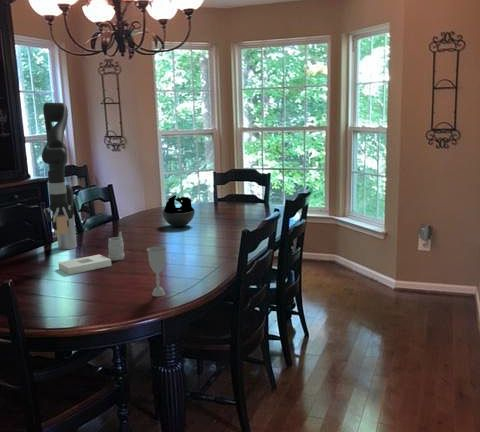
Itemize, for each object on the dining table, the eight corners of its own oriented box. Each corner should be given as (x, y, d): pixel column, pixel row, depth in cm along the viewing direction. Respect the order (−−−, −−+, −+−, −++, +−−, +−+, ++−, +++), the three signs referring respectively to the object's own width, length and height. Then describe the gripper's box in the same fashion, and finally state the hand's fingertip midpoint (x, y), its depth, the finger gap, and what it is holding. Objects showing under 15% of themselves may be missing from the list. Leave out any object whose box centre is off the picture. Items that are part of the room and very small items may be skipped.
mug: (105, 260, 246) (104, 236, 243) (116, 253, 257) (114, 230, 255) (120, 261, 244) (119, 236, 242) (130, 254, 256) (129, 231, 253)
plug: (54, 232, 237) (52, 214, 235) (64, 231, 239) (62, 213, 238) (58, 234, 233) (56, 215, 231) (68, 232, 236) (66, 214, 234)
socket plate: (58, 268, 233) (58, 262, 232) (100, 260, 246) (99, 254, 245) (69, 274, 224) (68, 268, 223) (111, 265, 237) (111, 259, 236)
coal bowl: (193, 229, 308) (192, 199, 305) (160, 230, 309) (158, 199, 305) (196, 223, 328) (195, 193, 324) (165, 223, 328) (164, 194, 325)
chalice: (168, 290, 201) (167, 246, 198) (167, 296, 195) (165, 251, 191) (150, 291, 201) (147, 246, 198) (147, 297, 195) (145, 251, 191)
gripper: (69, 189, 240) (72, 225, 243) (38, 193, 231) (42, 230, 234) (76, 191, 234) (79, 228, 238) (44, 194, 225) (48, 232, 229)
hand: (60, 228), depth 236 cm, fingers closed on plug, 4 cm apart
